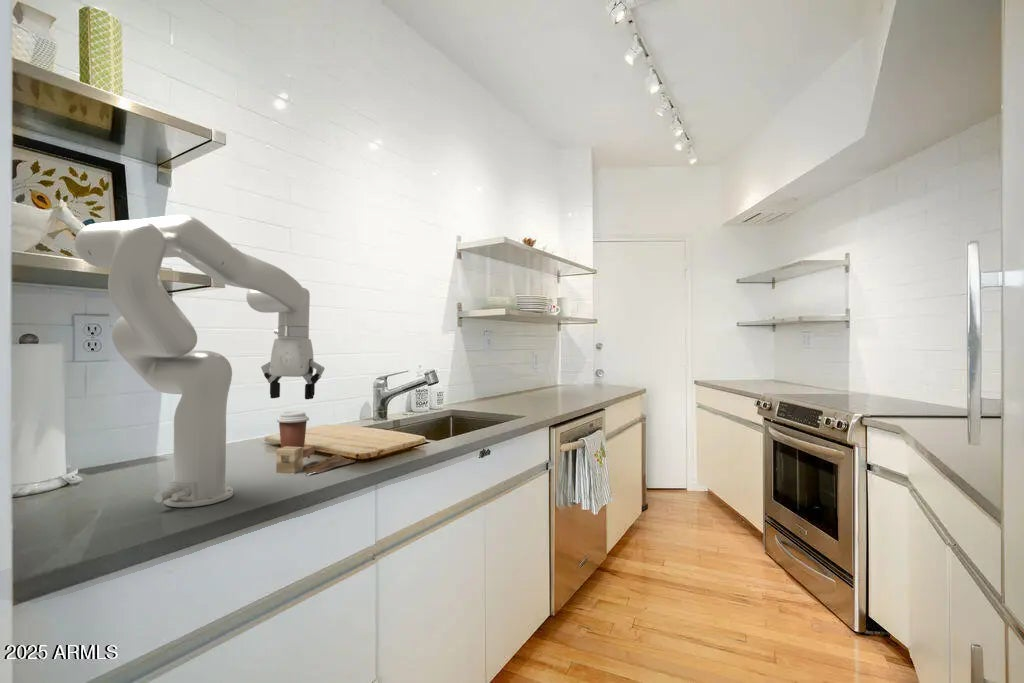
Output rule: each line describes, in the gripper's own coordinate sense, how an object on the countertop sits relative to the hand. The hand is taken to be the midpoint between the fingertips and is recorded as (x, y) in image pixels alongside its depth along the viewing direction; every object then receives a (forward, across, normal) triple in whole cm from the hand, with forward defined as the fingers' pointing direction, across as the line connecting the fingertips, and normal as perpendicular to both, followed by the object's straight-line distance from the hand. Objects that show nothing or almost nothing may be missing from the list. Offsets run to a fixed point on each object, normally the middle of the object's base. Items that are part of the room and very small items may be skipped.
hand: (292, 398), depth 133 cm
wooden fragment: (+19, +8, +8) cm, 22 cm away
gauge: (+19, +1, +3) cm, 19 cm away
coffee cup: (+19, -12, +21) cm, 31 cm away
